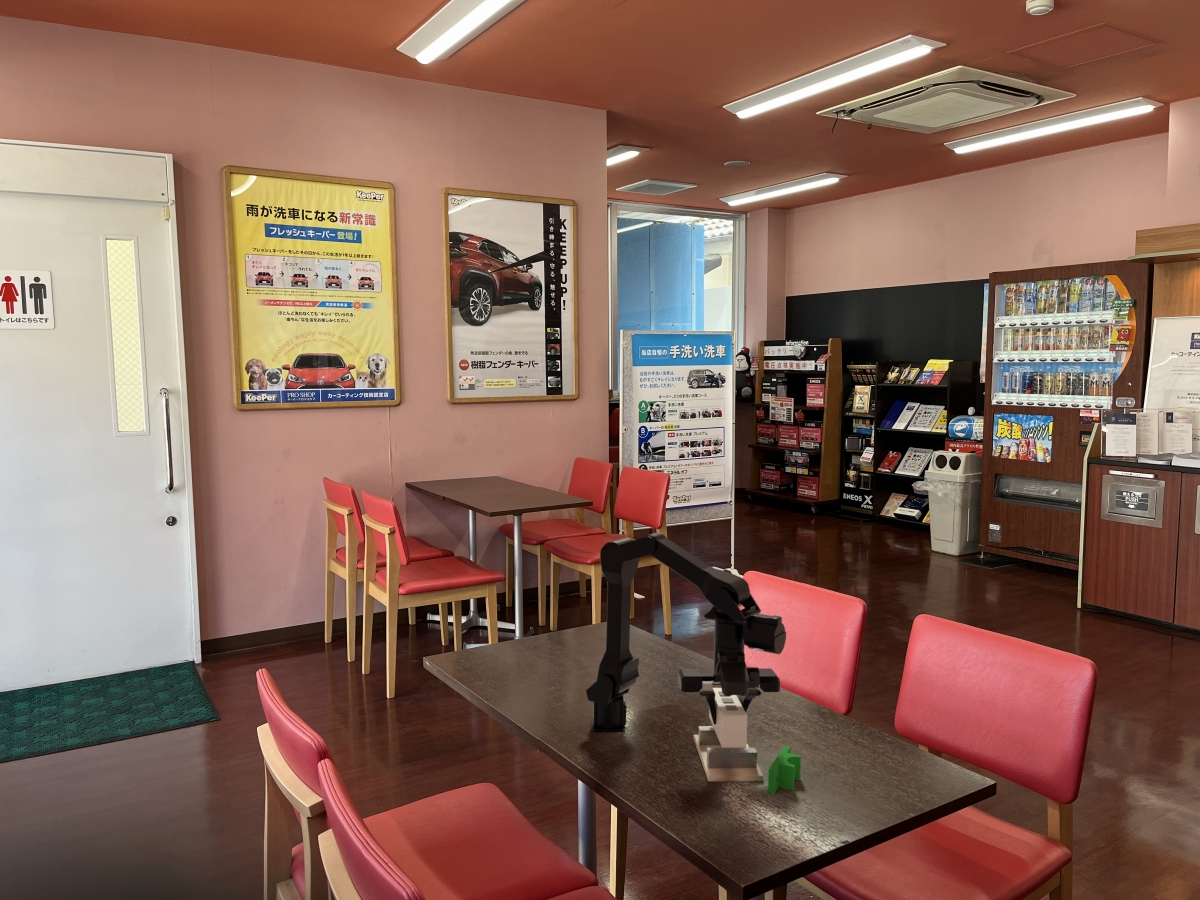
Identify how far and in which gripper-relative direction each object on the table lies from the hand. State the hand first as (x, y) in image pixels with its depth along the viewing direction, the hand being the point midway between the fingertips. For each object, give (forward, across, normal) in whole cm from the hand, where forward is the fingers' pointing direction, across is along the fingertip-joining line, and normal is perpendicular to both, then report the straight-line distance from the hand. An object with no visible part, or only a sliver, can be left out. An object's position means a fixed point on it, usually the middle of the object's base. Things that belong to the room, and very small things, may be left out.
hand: (727, 723), depth 161 cm
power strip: (+2, 0, 0) cm, 2 cm away
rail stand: (+7, 0, 0) cm, 7 cm away
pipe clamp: (+7, +9, -9) cm, 15 cm away
